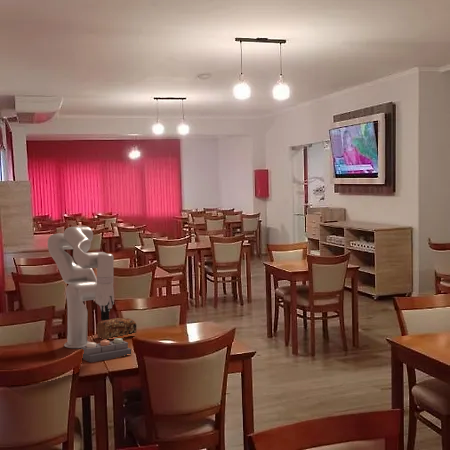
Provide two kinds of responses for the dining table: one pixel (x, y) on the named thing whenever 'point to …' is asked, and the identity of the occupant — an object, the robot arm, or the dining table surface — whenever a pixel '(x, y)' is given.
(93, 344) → the cream button
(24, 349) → the dining table surface
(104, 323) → the bread
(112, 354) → the button panel
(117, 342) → the sage button
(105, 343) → the terracotta button
